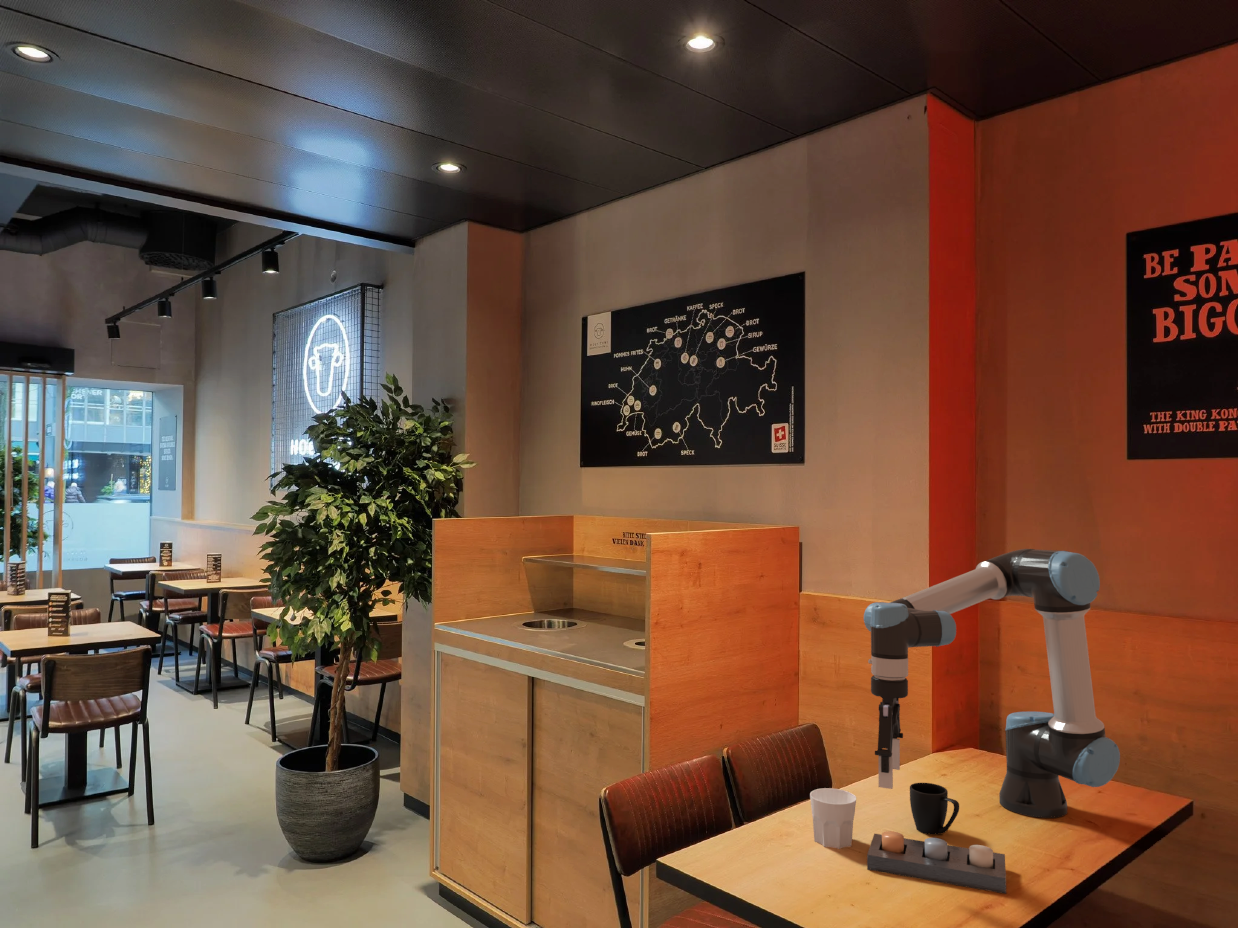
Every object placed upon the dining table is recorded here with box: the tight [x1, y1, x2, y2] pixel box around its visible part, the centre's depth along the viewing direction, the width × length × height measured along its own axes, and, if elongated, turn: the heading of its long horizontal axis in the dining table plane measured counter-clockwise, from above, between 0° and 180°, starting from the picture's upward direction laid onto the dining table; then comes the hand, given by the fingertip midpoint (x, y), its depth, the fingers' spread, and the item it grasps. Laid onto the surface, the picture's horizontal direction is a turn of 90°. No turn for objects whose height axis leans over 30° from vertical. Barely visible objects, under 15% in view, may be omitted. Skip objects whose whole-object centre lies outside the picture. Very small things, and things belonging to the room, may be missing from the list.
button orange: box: [881, 830, 905, 854], centre depth 177 cm, size 4×4×4 cm
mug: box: [909, 782, 960, 836], centre depth 192 cm, size 8×12×10 cm
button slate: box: [924, 837, 948, 861], centre depth 173 cm, size 4×4×4 cm
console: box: [866, 833, 1007, 895], centre depth 173 cm, size 26×12×3 cm, turn 66°
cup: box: [809, 787, 857, 850], centre depth 187 cm, size 10×10×10 cm
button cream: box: [968, 844, 994, 869], centre depth 170 cm, size 4×4×4 cm
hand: (889, 777), depth 178 cm, fingers open, 13 cm apart
